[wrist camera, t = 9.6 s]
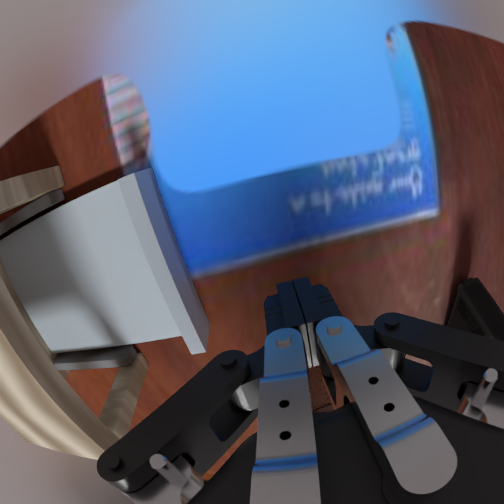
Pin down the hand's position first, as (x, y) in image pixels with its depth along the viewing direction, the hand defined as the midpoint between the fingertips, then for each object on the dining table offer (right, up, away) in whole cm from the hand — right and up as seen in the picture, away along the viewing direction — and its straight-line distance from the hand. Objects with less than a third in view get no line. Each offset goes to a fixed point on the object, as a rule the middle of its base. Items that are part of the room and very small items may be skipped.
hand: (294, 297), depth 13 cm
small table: (-22, -2, +9) cm, 24 cm away
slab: (-17, 0, +9) cm, 19 cm away
